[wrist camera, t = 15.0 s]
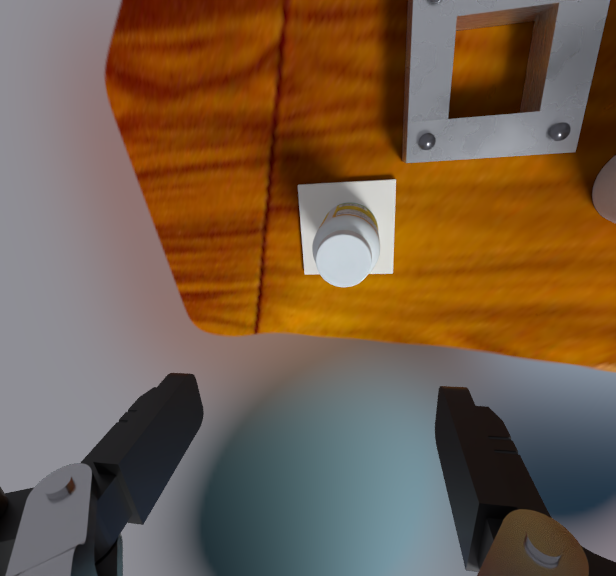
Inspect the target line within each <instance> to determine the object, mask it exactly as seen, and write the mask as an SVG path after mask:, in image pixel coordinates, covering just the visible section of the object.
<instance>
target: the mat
mask: <svg viewBox="0 0 616 576" xmlns="http://www.w3.org/2000/svg"><path fill="white" fill-rule="evenodd" d="M395 195H396V179H386V180H369V181H351V182H334V183H316V184H299V185H298V196H299V209H300V222H301V235H302V247H303V260H304V273H305V274H319V272H318V270H317V266H316V263H315V260H314V257H313V252H312V245H313V240H314V237H315V235H316V233H317V231H318V229H319V227H320V226H321V224H322V222H323V220H324V218H325V217H326V215H327V214H328V212H329V211H330V210H331V209H332V208H334V207H335V206H337V205H339V204H341V203H346V202H355V203H359V204H362V205H364V206H365V207H367V208H368V209H369V210H370V211H371V212H372V213H373V215H374V216H375V218H376V221H377V224H378V232H379V239H380V255H379V259H378V261H377V263H376V265H375V267H374V268H373V269H372V270H371V272H370V273H368V274H393V257H394V226H395Z"/></svg>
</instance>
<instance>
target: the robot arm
mask: <svg viewBox="0 0 616 576" xmlns="http://www.w3.org/2000/svg"><path fill="white" fill-rule="evenodd" d="M202 420H203V406H202V402H201V398H200V394H199V389H198V385H197V382H196V378H195V376H194V375H193V374H184V373H170V374H168V375H167V376H166V377H165V379H164V380H163V381H162V382H161V383H160V384H159V386H158V387H157V388H156V387H154V388H152V389H151V390H149V391H148V392H146V393H145V394H143V395H142V396H141V397H139V398H138V399H137V401H136V402H135V403H134V404H133V405H132V406H131V407H130V408H129V410H128V412H126V413H125V414H124V415H123V416H122V417H121V418H120V419H119V422H118V423H116V424H115V425H114V426H113V427H112V428H111V429H110V431H109V432H108V433H107V434H106V435H105V436H104V437H103V439H102V440H101V441H100V442H99V443H98V444H97V445H96V446H95V447H94V448H93V450H92V451H91V452H90V453H89V454H88V455H87V456H86V457H85V459H84V460H83V461H82V462H81V463H76V464H70V465H67V466H64V467H62V468H60V469H57V470H56V471H54V472H52V473H51V474H49V475H48V476H46V477H45V478H44V479H42V480H41V481H40V482H39V483H38V484H37V485H36V486H35V487H34V488H30V489H25V490H20V491H16V492H10V493H4V492H3V490H2V489H1V487H0V576H123V541H122V535H121V531H122V530H123V528H124V527H125V525H126V524H127V522H128V523H134V524H142V525H143V524H144V522H145V521H146V519H147V517H148V515H149V514H150V512H151V510H152V509H153V507H154V505H155V503H156V502H157V500H158V498H159V497H160V495H161V493H162V491H163V490H164V488H165V486H166V485H167V483H168V481H169V479H170V478H171V476H172V474H173V473H174V471H175V469H176V468H177V466H178V464H179V462H180V461H181V459H182V457H183V456H184V454H185V452H186V450H187V449H188V447H189V445H190V443H191V442H192V440H193V438H194V437H195V435H196V433H197V432H198V430H199V428H200V426H201V423H202ZM435 439H436V445H437V450H438V454H439V459H440V463H441V467H442V471H443V476H444V479H445V484H446V488H447V492H448V497H449V501H450V505H451V509H452V514H453V518H454V522H455V526H456V531H457V535H458V539H459V543H460V547H461V551H462V556H463V560H464V564H465V569H466V570H467V571H474V572H479V573H478V575H477V576H616V562H613V561H611V560H608V559H606V558H603V557H601V556H599V555H597V554H594V553H592V552H591V551H589V550H587V549H585V548H584V547H582V546H581V545H580V544H579V543H578V541H577V540H576V539H575V537H574V536H573V535H572V534H571V533H570V532H569V531H568V530H567V529H566V528H565V527H563V526H562V525H561V524H560V523H558V522H557V521H555V520H554V519H552V517H551V516H550V514H549V513H548V511H547V509H546V507H545V505H544V503H543V501H542V499H541V497H540V495H539V493H538V491H537V489H536V487H535V485H534V483H533V481H532V479H531V477H530V475H529V473H528V471H527V469H526V467H525V465H524V463H523V461H522V459H521V457H520V455H518V451H517V448H516V447H515V444H514V443H513V441H511V437H510V434H509V432H508V430H507V428H506V426H505V424H504V422H503V421H502V420H501V419H500V418H499V417H498V416H497V415H496V414H495V413H494V412H493V411H492V410H491V409H490V408H489V407H482V406H475V404H474V401H473V399H472V397H471V394H470V392H469V390H468V389H467V388H466V387H446V386H440V388H439V393H438V402H437V411H436V420H435Z"/></svg>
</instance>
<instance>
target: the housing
mask: <svg viewBox="0 0 616 576" xmlns="http://www.w3.org/2000/svg"><path fill="white" fill-rule="evenodd" d="M609 3H610V0H408V11H407V37H406V63H405V90H404V116H403V142H402V161H403V162H405V163H415V162H430V161H445V160H461V159H476V158H492V157H507V156H523V155H538V154H554V153H569V152H576V148H577V144H578V139H579V135H580V131H581V126H582V122H583V117H584V113H585V109H586V104H587V100H588V95H589V91H590V87H591V82H592V78H593V73H594V69H595V65H596V60H597V56H598V51H599V47H600V43H601V38H602V34H603V29H604V25H605V21H606V16H607V12H608V7H609ZM530 21H534V26H533V32H532V38H531V45H530V51H529V57H528V64H527V70H526V76H525V82H524V89H523V95H522V101H521V107H520V113H514V114H502V115H490V116H478V117H467V118H455V119H448V115H449V103H450V92H451V80H452V68H453V56H454V45H455V33H456V31H460V30H467V29H475V28H483V27H491V26H499V25H507V24H514V23H522V22H530Z"/></svg>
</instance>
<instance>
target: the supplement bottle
mask: <svg viewBox="0 0 616 576" xmlns="http://www.w3.org/2000/svg"><path fill="white" fill-rule="evenodd" d="M312 252H313V257H314V260H315V263H316V266H317V270H318V272H319V274H320V275H321V276H322V278H323V279H324V280H325V281H327V282H328V283H330V284H332V285H334V286H338V287H350V286H354V285H356V284H358V283H360V282H361V281H362V280H364V279H365V277H366V276H367V275H368V273H370V272H371V270H372V269H373V268H374V267H375V265H376V263H377V261H378V259H379V255H380V239H379V232H378V224H377V221H376V218H375V216H374V215H373V213H372V212H371V211H370V210H369V209H368V208H367V207H365V206H364V205H362V204H359V203H355V202H346V203H341V204H339V205H337V206H335V207H334V208H332V209H331V210H330V211H329V212H328V214H327V215H326V217H325V218H324V220H323V222H322V224H321V226H320V227H319V229H318V231H317V233H316V235H315V237H314V240H313V245H312Z"/></svg>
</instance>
